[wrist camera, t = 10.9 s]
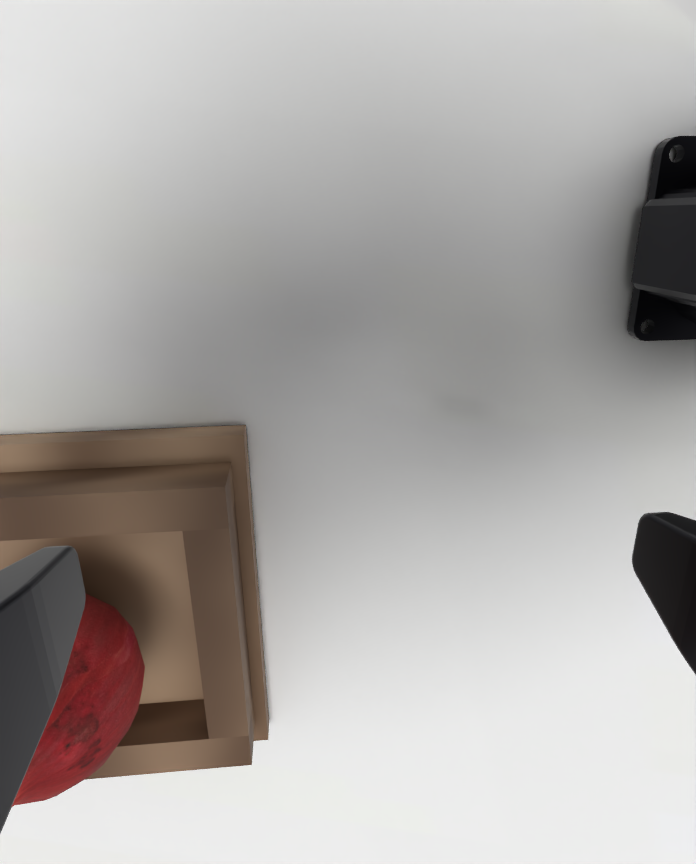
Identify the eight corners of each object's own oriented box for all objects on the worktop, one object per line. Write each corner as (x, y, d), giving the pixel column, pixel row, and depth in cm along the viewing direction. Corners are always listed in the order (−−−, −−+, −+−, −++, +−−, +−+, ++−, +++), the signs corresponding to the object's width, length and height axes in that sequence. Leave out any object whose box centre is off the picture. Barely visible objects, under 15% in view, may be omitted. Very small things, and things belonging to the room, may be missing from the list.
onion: (44, 521, 20) (-99, 696, 13) (192, 590, 22) (140, 782, 14) (-22, 638, 22) (-185, 857, 14) (121, 695, 23) (41, 921, 16)
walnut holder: (245, 425, 21) (238, 457, 18) (268, 720, 26) (266, 782, 23) (-138, 440, 20) (-208, 477, 17) (-38, 745, 25) (-80, 813, 22)
